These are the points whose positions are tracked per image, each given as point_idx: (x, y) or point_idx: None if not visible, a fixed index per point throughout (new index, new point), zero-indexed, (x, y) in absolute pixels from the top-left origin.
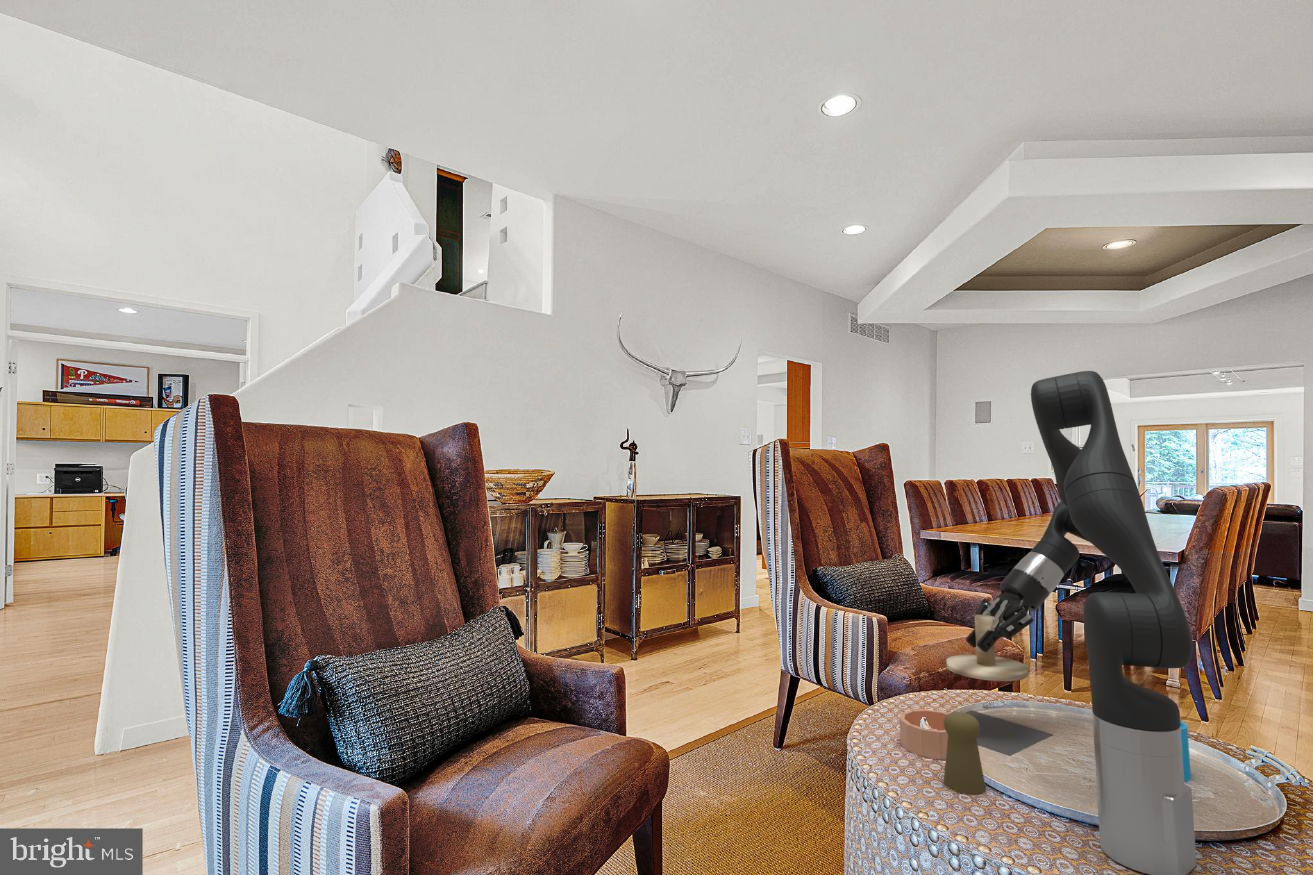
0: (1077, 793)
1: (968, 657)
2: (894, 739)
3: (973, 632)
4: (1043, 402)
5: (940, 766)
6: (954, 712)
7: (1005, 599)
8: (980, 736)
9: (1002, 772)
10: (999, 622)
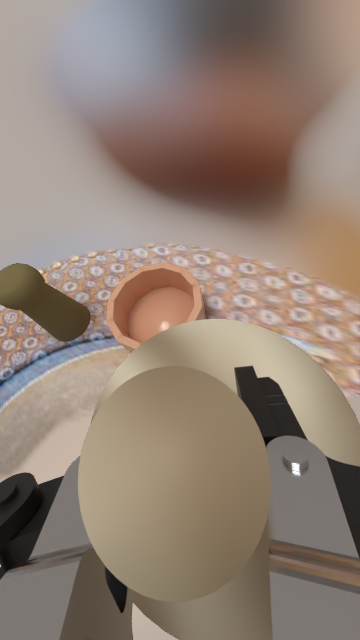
0: (18, 446)
1: (307, 418)
2: None
3: (242, 397)
4: None
5: None
6: (18, 273)
7: None
8: None
9: (87, 379)
10: (35, 559)
